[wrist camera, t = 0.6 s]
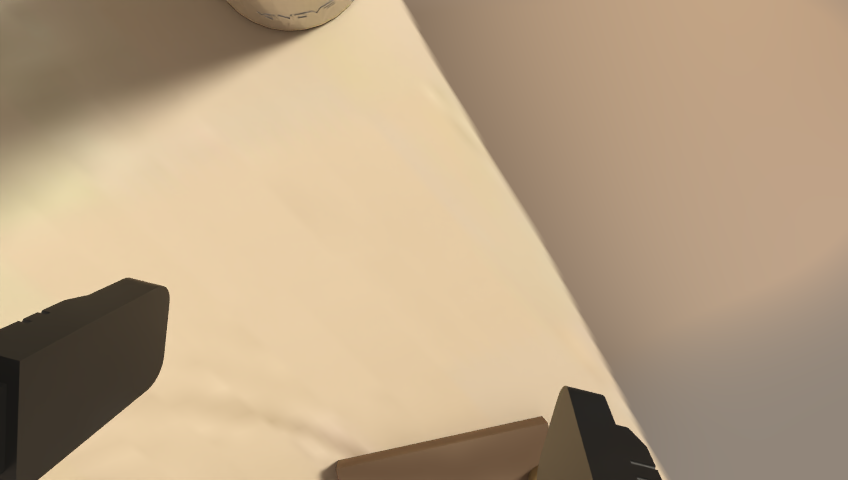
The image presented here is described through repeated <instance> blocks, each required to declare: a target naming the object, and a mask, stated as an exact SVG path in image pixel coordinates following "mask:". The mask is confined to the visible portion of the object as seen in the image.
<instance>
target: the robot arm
mask: <svg viewBox="0 0 848 480" xmlns="http://www.w3.org/2000/svg"><path fill="white" fill-rule="evenodd" d="M226 1H227V2H228V3H229V4H230V5H231V6H232V7H233V8H234V9H235V10H236V11H237V12H238V13H240V14H241V15H243V16H244V17H246V18H248V19H249V20H251V21H253V22H254V23H257V24H260V25H263V26H265V27H268V28H271V29H278V30H286V31H293V30H306V29H309V28H312V27H316V26H319V25H322V24H324V23H326V22H328V21H330V20H331V19H333V18H335V17H337V16H338V15H339V14H340V13H342V12H343V11H344V10H345V9H346V8H347V7H349V6H350V4H351V3H352V2H353V0H226ZM169 301H170V297H169V292H168V289H167V288H166V287H164V286H161V285H156V284H152V283H148V282H144V281H140V280H136V279H132V278H125V279H122V280H120V281H118V282H116V283H114V284H111V285H109V286H107V287H105V288H103V289H101V290H98V291H96V292H94V293H92V294H90V295H87V296H82V297H77V298H73V299H68V300H64V301H62V302H60V303H57V304H55V305H53V306H51V307H49V308H46V309H44V310H42V312H41V313H38V312H37V313H35V314H33V315H31V316H29V317H26V318H24V319H23V321H22V322H20V321H17V322H15V323H13V324H11V325H9V326H6V327H4V328H2V329H0V480H38V479H39V478H41V477H42V476H43V475H44V474H46V473H47V472H48V471H49V470H50V469H52V468H53V467H54V466H55V465H56V464H58V463H59V462H60V461H61V460H63V459H64V458H65V457H66V456H67V455H69V454H70V453H71V452H72V451H74V450H75V449H76V448H77V447H78V446H80V445H81V444H82V443H83V442H85V441H86V440H87V439H88V438H89V437H91V436H92V435H93V434H94V433H95V432H97V431H98V430H99V429H100V428H102V427H103V426H104V425H105V424H106V423H108V422H109V421H110V420H111V419H113V418H114V417H115V416H116V415H117V414H119V413H120V412H121V411H122V410H124V409H125V408H126V407H127V406H128V405H130V404H131V403H132V402H133V401H134V400H136V399H137V398H138V397H139V396H141V395H142V394H143V393H144V392H145V391H147V390H148V389H149V388H150V387H151V386H152V385H153V383H154V382H155V380H156V378H157V377H158V375H159V372H160V370H161V367H162V364H163V359H164V351H165V341H166V331H167V321H168V311H169ZM537 480H662V479H661V477H660V475H659V472H658V470H655V464H654V462H653V459H652V457H651V455H650V453H649V451H648V449H647V447H646V446H645V445H644V444H643V443H642V442H641V441H640V440H639V438H638V437H637V436H636V435H635V434H634V433H633V432H632V431H631V430H630V429H629V428H627V427H623V426H619V425H616V424H615V421H614V419H613V416H612V414H611V411H610V409H609V406H608V404H607V401H606V399H605V397H604V396H603V395H601V394H597V393H592V392H588V391H584V390H580V389H576V388H572V387H568V386H564V387H563V388H562V389H561V391H560V393H559V396H558V399H557V402H556V406H555V409H554V412H553V416H552V419H551V422H550V426H549V429H548V432H547V436H546V439H545V442H544V445H543V449H542V452H541V456H540V460H539V464H538V471H537Z"/></svg>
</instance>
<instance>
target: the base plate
mask: <svg viewBox="0 0 848 480" xmlns="http://www.w3.org/2000/svg"><path fill="white" fill-rule="evenodd" d="M548 429H549V427H548V423H547V422H546V420H545V419H544V418H543V417H542V416H541V417H537V418H532V419H527V420H523V421H518V422H514V423H509V424H504V425H500V426H495V427H490V428H486V429H481V430H477V431H472V432H467V433H463V434H458V435H454V436H449V437H444V438H440V439H435V440H431V441H426V442H421V443H417V444H412V445H408V446H403V447H398V448H394V449H389V450H385V451H380V452H375V453H371V454H366V455H362V456H357V457H352V458H348V459H343V460H339V461H338V463H337V467H336V472H337V477H338V480H537V471H538V464H539V460H540V456H541V452H542V449H543V445H544V442H545V439H546V436H547V432H548Z"/></svg>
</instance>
